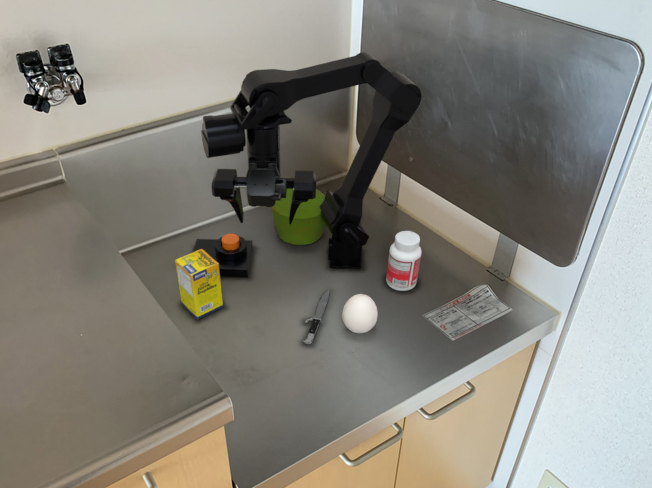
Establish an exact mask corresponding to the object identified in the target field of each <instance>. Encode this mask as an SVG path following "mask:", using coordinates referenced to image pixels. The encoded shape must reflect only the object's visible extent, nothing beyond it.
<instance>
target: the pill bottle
mask: <svg viewBox="0 0 652 488" xmlns="http://www.w3.org/2000/svg"><path fill="white" fill-rule="evenodd" d="M420 243H421V237H420V236H419V234H418V233H416V232H414V231H413V230H402V231H399V232H397V233H396V234H395V236H394V242H393V243H391V245H390V247H389V252H388V260H387V268H386V276H385V282H386V284H387V285H388V287H390V288H391V289H392V290H395V291H397V292H398V291H399V292H406V291H410V290H412V289H414V288H415V287H416V285H417V283H418V278H419V271H420V266H421V259H422V253H423V252H422V248H421V246H420Z"/></svg>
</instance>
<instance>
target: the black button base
mask: <svg viewBox="0 0 652 488" xmlns="http://www.w3.org/2000/svg"><path fill="white" fill-rule="evenodd" d="M237 236H238V237H239V243H240V246H239V248H238V249H235V250H225V249H224V248H223V247H222V237H223V236H220V237H219V238H218V239H215V238H214V239H213V238H212V239H211V238H196V240H195V244H194V247H193V250H192V253H193V252H195V251H197V250H200V249H203V250H204V251H205V252H206V253H207V254H209V255H210V256H211V257H212V258H213V259H214V260H215V261H217V262H218V263H219V272H220V278H238V279H239V278H240V279H242V278H244V279H248V278H249V275H250V269H251V263H252V256H253V250H254V249H253V240H251V239H250V240H249V239H247V240H246V238H244V237H242V236H240V235H237Z"/></svg>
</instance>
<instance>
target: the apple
mask: <svg viewBox="0 0 652 488" xmlns="http://www.w3.org/2000/svg"><path fill="white" fill-rule="evenodd" d="M292 192H293V189H287V192H286V198H281V201H276V202H275V205H274V206H272V207H270V208H271V209H270V210H271V214H272V218H273V223H274V227H275V230H276V233H277V236H278V238H279V239H281V240H282V241H283V242H284V243H287V244H290V245H293V246H305V245H311V244H313V243H316V242H317V241H319V240H320V238H321V237H322V235H323V233H324V229H325V226H326V225H325V223H324V221H323V220H322V218H321V215H320V212H321V209H320V207H319V206H320V205H321V204H322V203H323V201H324V199H325V195H326V194H324V193H323V192H322V191H320V190H319V189H318V188H316V198H314V199H309V200H308V201H307V202H302V203H301V204H300V205H299V207H298V209H297V211H296V213H295V216H294V218H293V221H292V223H291V224H289V213H290V206H291V199H292Z"/></svg>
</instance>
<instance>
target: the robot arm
mask: <svg viewBox="0 0 652 488" xmlns="http://www.w3.org/2000/svg"><path fill="white" fill-rule="evenodd" d="M364 84H368V86H370V88H372V89H374V90H375V92H374V95H373V99H372V111H371V112H372V113H371V115H372V116H371V117H372V118H371V120H370V123H369V125H368V127H367V129H366V131H365V134H364V136H363V138H362V141H361V143H360V145H359V147H358V149H357V151H356V153H355V155H354V157H353V160H352V162H351V164H350V166H349V169H348V171H347V173H346V175H345V177H344V180H343V181H342V184H341V186H340V187H339V188H338V189H336V190H335V191H333V192H332V191H330V190H327V192H326V193H325V194H324V195H325V199H324V201H323V203H322V204H321V205H320V206H319V207H320V209H321V212H320V215H321V218H322V220H323V221H324V223H325V226H326V228H327V229H328V231H329V232H330V234H331V237H330V236H329V238H328V245H327V246H328V247H327V248H328V249H327V261H329V265H330V266H329V267H330V268H331V269H348V270H349V269H351V270H362V267H363V263H362V255H363V247H364V246H366V245H367V243H368V241H369V239H370V235H369V234H368V232H367V231H366V229H365V228H364V227H363V225H362V224H361V221H362V218H363V209H364V208H363V207H364V205H363V204H364V198H365V196H366V194H367V193H368V190H369V188H370V186H371V184H372V181H373V180H374V177H375V175H376V173H377V171H378V169H379V167H380V165H381V163H382V160H383V159H384V157H385V155H386V152H387V151H388V148H389V146H390V144H391V142H392V140H393V138H394V136H395V135H396V133H397V131H398V130H400V129H401V128H403V127H404V126H405V125H407V124H408V123H409V122H410V121H411V119H412V118H413V117H414V115H415V113H416V112H417V111H418V109H419V107H420V106H421V103H422V101H423V94H422V92H421V89H420V87H419V86H418V85H417V84H415V82H414V81H412V80H411V79H409V78H408V77H407V76H406V75H405V74H403V73H402V72H400V71H389V70H388V69H387V68H385V67H384V66H383V64H381V62H380V61H379V60H378V59H377V58H376V57H375V56H373V55H372V54H371V53H370V52H367V51H366V52H358V53H357V54H356V55H353V56H349V57H348V56H347V57H344V58H340V59H336V60H331V61H328V62H323V63H319V64H315V65H312V66H307V67H302V68H298V69H294V70H284V69H277V68H267V69H255V70H252V71H250V72H248V73H247V74H246V75H245V77H244V78H243V80H242V82H241V85H240V90H239V93H238V94H237V95H236V97H235V99H234V100H233V101H232V103H231V104H230V107H229V109H230V111H231V113H226V114H218V115H203V116H202V123H201V130H200V134H201V135H200V136H201V142H202V146H203V151H204V154H205V157H206V158H207V159H211V158H217V157H224V156H230V155H231V156H232V155H237V154H240V153H242V152H244V150H245V147H246V149H247V150H246V151H247V153H246V154H247V168H248V169H247V171H246V174H245V175H246V176H238V171H237V169H236V168H216V170H215V171H214V174H213V177H212V180H211V195H212V196H213V197H215V198H219V199H220V200H221V201H226V202H228V203H229V205H231V207H232V209H233V211H234V212H235V215H236V216H237V218H238V220H239V223H240V224H243V223H244V208H243V201H242V194H241V189H246V198H247V205H248V206H250V207H253V208H255V207H266V208H271V207H272V206H274V205H275V202H276V201H281V198H286V192H287V189H293V192H292V199H291V206H290V213H289V224H291V223H292V221H293V218H294V216H295V213H296V211H297V209H298V207H299V205H300V204H301V203H302V202H307V201H308V200H309V199H314V198H316V189H317V173H316V172H315V171H314V170H295V171H294V177H281V131H280V129H281V127H280V126H281V125H288V124H292V122H293V120H292V118H291V116H290V115H289V114H288V113H287V110H288V109H290V108H291V107H292V106H293V105H295V104H296V103H297V102H299V101H302V100H304V99H309V98H313V97H316V96H319V95H320V96H321V95H324V94H327V93H332V92H336V91H340V90H344V89H348V88H351V87H352V88H353V87H356V86H359V85H364ZM248 107H249V108H250V109H249V111H248V110H247V108H248Z"/></svg>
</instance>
